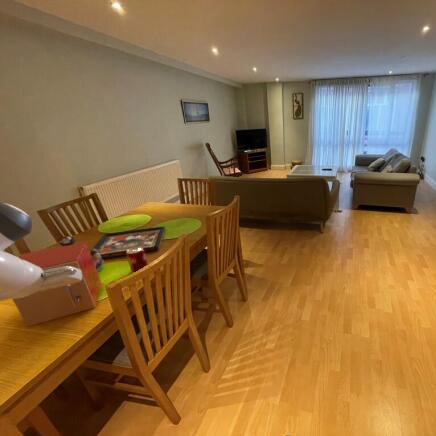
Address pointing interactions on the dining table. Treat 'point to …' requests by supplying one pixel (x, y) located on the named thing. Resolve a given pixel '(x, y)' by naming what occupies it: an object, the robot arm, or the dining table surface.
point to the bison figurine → (97, 259)
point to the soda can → (136, 258)
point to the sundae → (67, 241)
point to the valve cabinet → (65, 256)
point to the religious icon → (129, 241)
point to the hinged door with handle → (55, 301)
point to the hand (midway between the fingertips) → (46, 289)
